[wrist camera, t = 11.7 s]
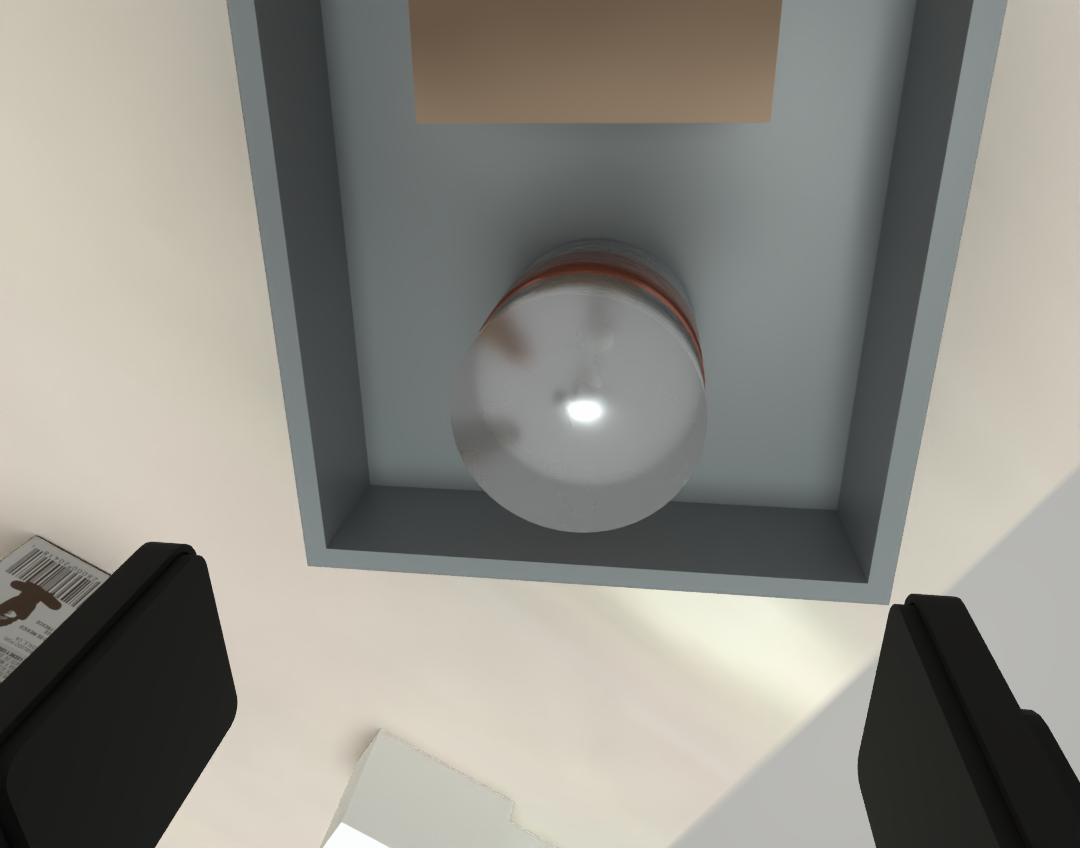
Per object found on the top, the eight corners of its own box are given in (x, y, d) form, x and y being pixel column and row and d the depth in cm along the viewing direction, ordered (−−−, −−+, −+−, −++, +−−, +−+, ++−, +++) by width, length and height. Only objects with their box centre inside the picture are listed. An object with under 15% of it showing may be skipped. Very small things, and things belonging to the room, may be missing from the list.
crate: (280, -223, 22) (183, -300, 17) (980, -262, 20) (1078, -363, 15) (359, 493, 31) (307, 565, 26) (851, 520, 28) (888, 605, 24)
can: (495, 235, 26) (440, 289, 19) (704, 237, 25) (719, 295, 18) (502, 423, 28) (455, 526, 22) (692, 432, 27) (700, 541, 21)
